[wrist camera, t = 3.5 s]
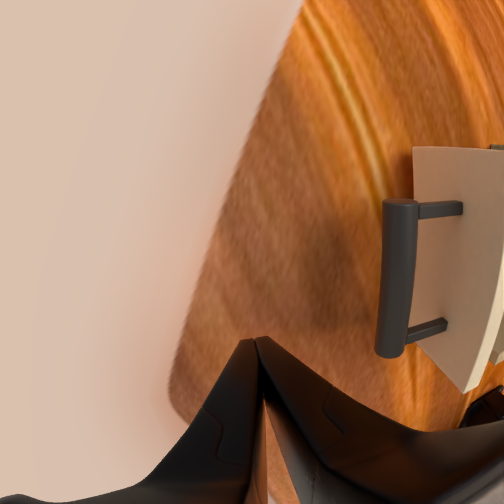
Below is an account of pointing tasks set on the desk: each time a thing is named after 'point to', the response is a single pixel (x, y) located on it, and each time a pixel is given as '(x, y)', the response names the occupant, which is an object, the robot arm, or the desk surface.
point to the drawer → (446, 263)
